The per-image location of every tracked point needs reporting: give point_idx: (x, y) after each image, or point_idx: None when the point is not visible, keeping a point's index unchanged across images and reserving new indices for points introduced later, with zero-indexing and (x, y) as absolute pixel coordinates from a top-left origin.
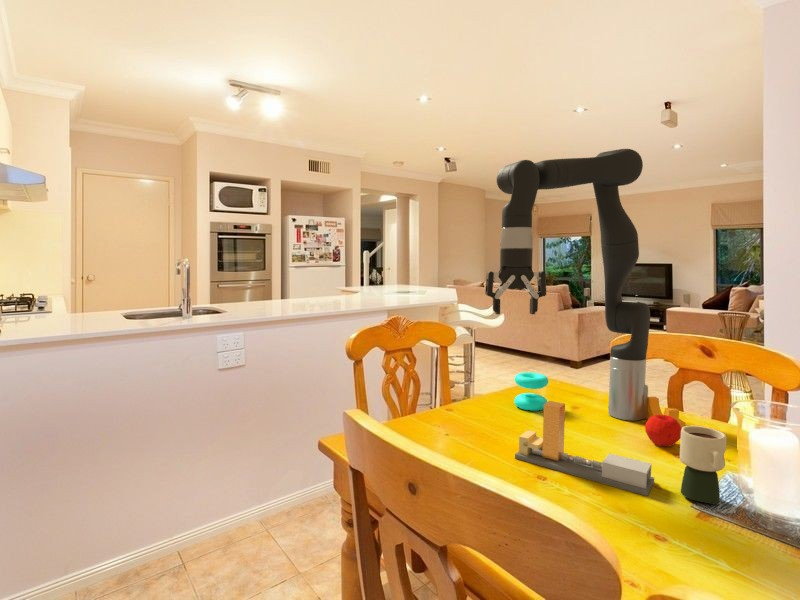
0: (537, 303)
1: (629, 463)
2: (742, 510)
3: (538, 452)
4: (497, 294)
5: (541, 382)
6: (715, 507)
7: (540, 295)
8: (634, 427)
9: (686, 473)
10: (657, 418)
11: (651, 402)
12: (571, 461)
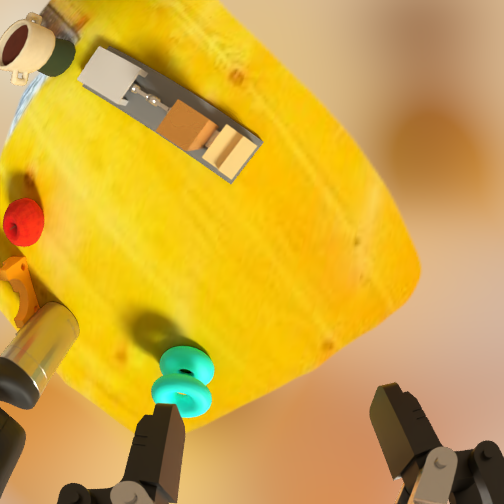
0: (130, 457)
1: (104, 71)
2: None
3: None
4: (445, 473)
5: (164, 379)
6: None
7: (100, 497)
8: (54, 279)
9: (57, 49)
10: (18, 222)
11: (23, 316)
12: None
